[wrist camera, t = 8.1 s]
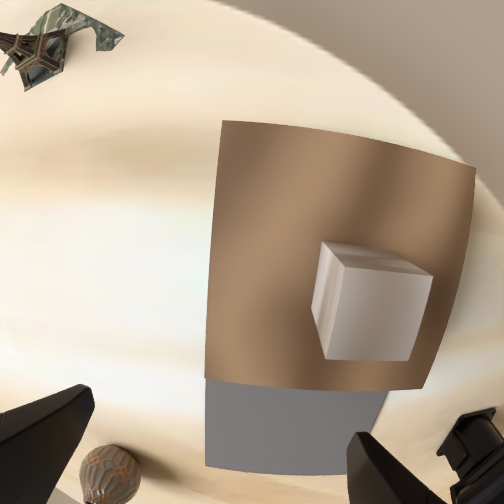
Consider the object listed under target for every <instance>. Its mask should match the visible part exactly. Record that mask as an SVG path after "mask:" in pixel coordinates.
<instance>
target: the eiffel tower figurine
mask: <svg viewBox="0 0 504 504" xmlns="http://www.w3.org/2000/svg"><path fill="white" fill-rule="evenodd" d="M88 27H93V29H94V31H95V33H96V35H97V38H96V51H110V50H112V49H113V48H114V47H115V46H116V44H117V43H118V42H119V41H120V40H121V38H122V37H123V36H124V35H122V34H121V33H119V32H117V31H115V30H113V29H112V28H110V27H108V26H106V25H104V24H103V23H101V22H99V21H97V20H95V19H93V18H91V17H89V16H87V15H85V14H83V13H81V12H79V11H76V10H74V9H72V8H70V7H68V6H66V5H64V4H62V3H61V4H59V5H57V6H56V7H54V8H52V9H51V10H48V11H46V12H45V14H44V15H43V16H41V17H40V19H39V20H38V21H37V22H36V24H35V25H34V26H33V27H32V28H31V30H30V32H29V33H27V34H26V35H18V33H17V34H16V35H12V34H7V33H2V32H0V49H1V50H3V51H4V54H7V55H8V56H9V59H8V60H7V62H6V63H5V65H4V67H3V68H2V70H1V72H0V73H1V74H2V75H3V76H4V75H5V73H6V71H7V70H8V68H9V66H10V65H11V64H12V63H13V62H14V63H15V64H16V65H15V69H16V70H19V72H20V75H21V79H22V82H23V84H24V87H25V89H24V90H25V92H26V91H27V90H29V89H31V88H32V87H34V86H36V85H38V84H40V83H41V82H43V81H45V80H47V79H49V78H51V77H53V76H55V75H57V74H59V73H61V72H63V66H64V59H65V52H66V46H67V41H68V37H69V36H70V35H72V34H73V33H75V32H77V31H79V30H82V29H85V28H88Z"/></svg>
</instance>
